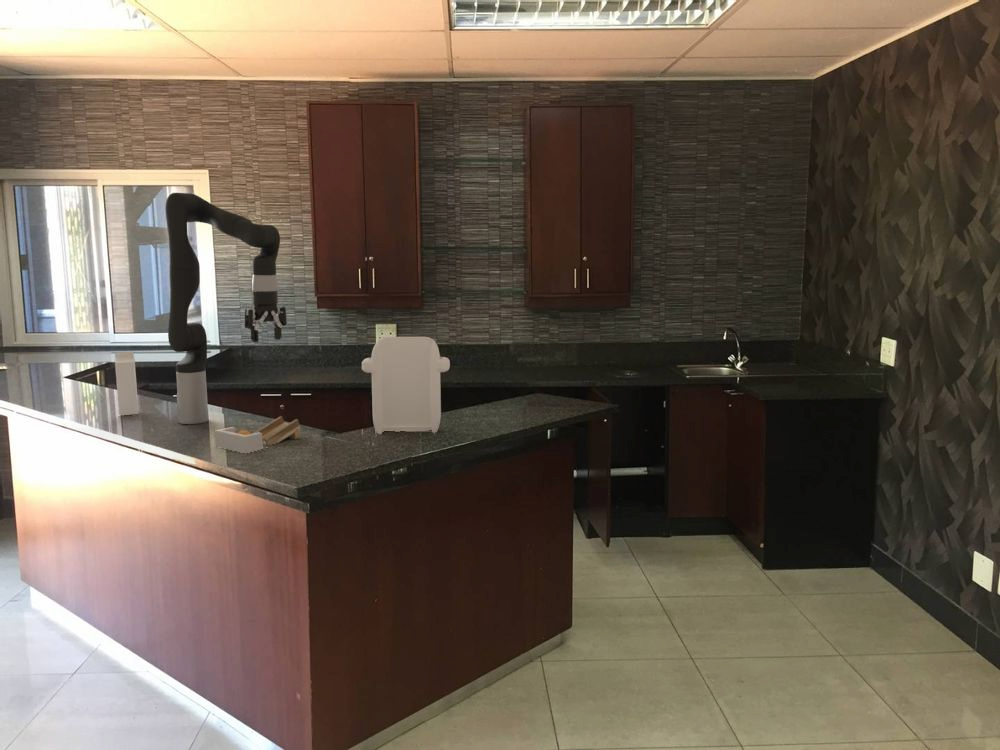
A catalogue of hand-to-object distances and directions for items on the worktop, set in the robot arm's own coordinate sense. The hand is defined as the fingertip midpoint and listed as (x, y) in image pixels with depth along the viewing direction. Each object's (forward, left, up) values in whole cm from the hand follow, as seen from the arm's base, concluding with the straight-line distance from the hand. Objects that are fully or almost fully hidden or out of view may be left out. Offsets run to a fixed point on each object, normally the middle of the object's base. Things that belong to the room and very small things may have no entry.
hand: (266, 340), depth 262 cm
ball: (+13, -20, -26) cm, 35 cm away
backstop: (+13, -22, -29) cm, 38 cm away
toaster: (+37, +25, -29) cm, 53 cm away
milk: (-61, -13, -29) cm, 69 cm away
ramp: (+13, -8, -29) cm, 33 cm away
